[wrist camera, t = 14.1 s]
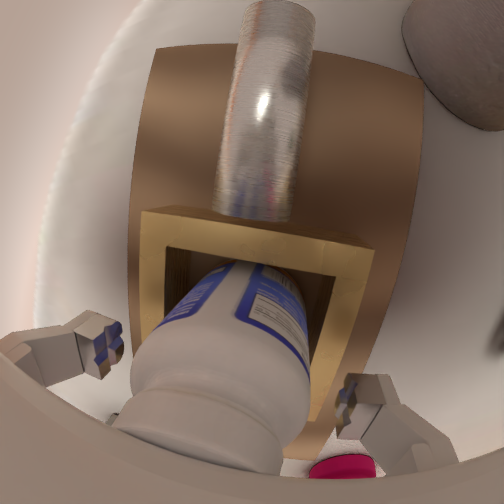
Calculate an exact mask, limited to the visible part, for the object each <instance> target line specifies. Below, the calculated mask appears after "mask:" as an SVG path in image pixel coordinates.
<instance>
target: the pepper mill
mask: <svg viewBox="0 0 504 504" xmlns="http://www.w3.org/2000/svg"><path fill="white" fill-rule="evenodd" d="M375 477H376V471H375V465H374V461H373V460H372V459H371V458H370V457H368V456H364V455H356V454H354V455H343V456H337V457H334V458H330V459H327V460H324V461H322V462H320V463H318V464H317V465H315V466H314V467H313V468H312V469H311V471H310V474H309V478H310V479H363V478H375Z"/></svg>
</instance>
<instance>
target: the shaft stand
mask: <svg viewBox="0 0 504 504" xmlns="http://www.w3.org/2000/svg"><path fill="white" fill-rule="evenodd" d="M314 33H315V18H314V16H313V15H312V13H311V12H310V11H309V10H307V9H306V8H304V7H302V6H300V5H298V4H295V3H293V2H289V1H284V0H263V1H259V2H256V3H254V4H252V5H250V6H249V7H248V8H247V9H246V11H245V14H244V19H243V23H242V27H241V32H240V37H239V41H238V44H200V45H186V46H175V47H166V48H159V49H156V52H155V55H154V59H153V63H152V67H151V71H150V75H149V79H148V83H147V87H146V92H145V96H144V101H143V106H142V111H141V117H140V122H139V128H138V134H137V141H136V148H135V155H134V163H133V172H132V182H131V193H130V206H129V224H128V300H129V318H130V331H131V342H132V352H133V358H134V356H135V354H136V352H137V350H138V348H139V347H140V345H141V344H142V343H143V342H144V340H145V339H146V338H147V337H148V336H149V334H150V333H151V332H152V331H153V330H154V329H155V328H156V327H157V326H158V325H159V324H160V322H161V321H162V320H163V319H164V318H165V317H166V316H167V315H168V314H169V313H170V312H171V311H172V310H173V309H174V308H175V306H176V305H177V304H178V303H179V302H180V301H181V300H182V299H183V298H184V297H185V296H186V295H187V294H188V293H189V292H190V291H191V290H192V289H193V288H194V287H195V286H196V284H197V283H198V282H199V281H200V280H201V279H202V278H203V277H204V276H205V275H206V274H207V273H208V272H209V271H210V270H212V269H213V268H214V267H216V266H217V265H219V264H221V263H223V262H225V261H227V260H230V259H234V258H235V259H240V260H245V261H251V262H256V263H262V264H268V265H273V266H279V267H281V268H282V269H284V270H285V271H286V272H287V273H288V274H289V275H290V276H291V277H292V278H293V279H294V280H295V281H296V283H297V285H298V286H299V288H300V290H301V292H302V295H303V299H304V302H305V309H306V319H307V331H308V346H309V363H310V389H311V395H310V411H309V416H308V419H307V422H306V424H305V426H304V428H303V429H302V431H301V432H300V434H299V435H298V436H297V437H296V438H295V439H294V440H293V441H292V442H291V443H290V444H289V445H287V446H286V447H285V448H283V449H282V452H283V458H289V459H299V460H312V461H315V459H316V457H317V456H318V454H319V453H320V451H321V450H322V448H323V446H324V445H325V443H326V441H327V440H328V438H329V436H330V435H331V433H332V431H333V429H334V428H335V426H336V423H337V421H338V418H337V417H336V416H335V414H334V405H335V400H336V397H337V394H338V392H339V390H341V389H342V388H344V383H343V380H344V378H345V376H346V375H347V373H360V374H362V372H363V370H364V367H365V365H366V363H367V360H368V358H369V356H370V353H371V351H372V348H373V346H374V343H375V341H376V338H377V336H378V333H379V330H380V328H381V325H382V322H383V319H384V317H385V314H386V311H387V308H388V305H389V302H390V299H391V296H392V292H393V289H394V286H395V283H396V279H397V276H398V272H399V268H400V265H401V261H402V257H403V253H404V249H405V245H406V241H407V236H408V232H409V227H410V222H411V217H412V212H413V207H414V201H415V195H416V188H417V182H418V174H419V166H420V157H421V146H422V133H423V111H424V80H422V79H419V78H416V77H414V76H411V75H408V74H406V73H403V72H400V71H397V70H394V69H391V68H388V67H384V66H381V65H378V64H374V63H371V62H367V61H363V60H359V59H355V58H351V57H346V56H342V55H337V54H332V53H327V52H321V51H315V50H313V43H314Z"/></svg>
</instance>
